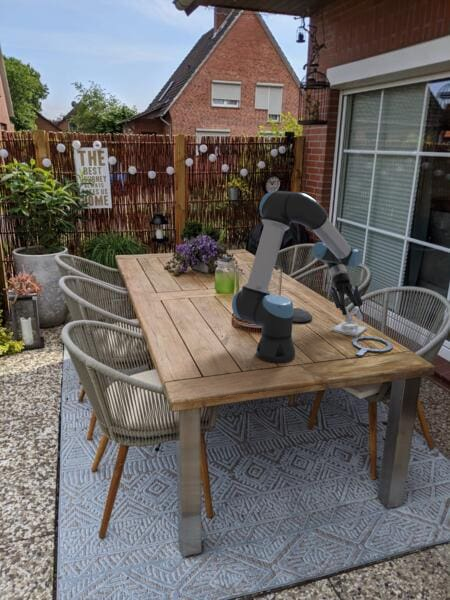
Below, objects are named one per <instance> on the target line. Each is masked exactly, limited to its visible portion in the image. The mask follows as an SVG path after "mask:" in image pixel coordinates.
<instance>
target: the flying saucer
mask: <svg viewBox="0 0 450 600" xmlns="http://www.w3.org/2000/svg"><path fill="white" fill-rule="evenodd" d="M293 312H294V314H293V322H295V323H305V322H309V321H311V320H312V319H313V315H312V313H311V312H309V311H307V310H306V309H303V308H299V307H293Z"/></svg>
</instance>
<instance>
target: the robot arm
mask: <svg viewBox="0 0 450 600" xmlns="http://www.w3.org/2000/svg"><path fill="white" fill-rule="evenodd" d="M259 214H260V216H261V222H262V225H263V229H262V232H261V234H260V238H259V243H258V246H257V249H256V251H255V252H256V253H255V256H254V260H253V264H252V267H251V271H250V273H249V277H248V279H247V280H248V281H247V282H246V283H245V284H243V285H242V288H241V290H238V291H237V292H236V293H234V295H233V298H232V303H231V308H232V311H233V314H234V315H235V317H236V318H238V319H241V320H242V321H244V322H248V323H251V324H254V325H256V326H260V327H261V337H260V339H259V341H258V344H257V347H256V353H255V355H256V357H257V358H258V359H260V360H261V361H264V362H267V363H271V364H272V363H273V364H283V363H288V362H292V361H293V360H294V359H295V357H296V349H295V346H294V343H293V339H292V336H293V335H292V334H293V314H294V312H293V308H294V304H293V302H292V300H291V299H290V298H288V297H286V296H285V295H280V294H278V295H277V294H271V292H270V289H269V286H270V283H271V280H272V276H273V272H274V269H275V266H276V262H277V260H278V259H277V258H278V256H279V252H280V248H281V245H282V243H283V238H284V234H285V232H286V231H288V230H289V229H290V227H291V224H292V223H293V224H294V223H295V224H300V225H303V226H304V227H306V229H308V230H310V231H313V232H314V234H315V235H316V236H317V237H318V238H319V239H320V241H318V242H316V243H314V244H313V246H312V248H311V255H312V256H313V257H314V258H315V259H316V260H319V261H321V262H323V263H324V264H326V265H327V269H328V271H329V274H330V277H331V281H332V284H333V286H334V287H331V288H330V289H329V292H330V293H331V295H332V298H333V299H332V300H333V302H334V305H335V308H336V309H339V311H341V313H342V316H344V317H345V322H346V321H347V323H349V322H350V321H351V318H350V315H349V314H350V312H349V309H348V307H347V306H346V303H345V302H346V301H345V295H346V296H347V297H348V298H349V300H350V301H351V303H352V305H353V307H354V308H355V307H356V306H357V307H358V308H359V310H358V311H357V312H356V314H355V315H356V319H357V321H358V322H361V321H363V319H364V318H363V316H362V308H361V307H362V306H363V305H364V302H363V300H362V297H361V295H360V291H359V287H358V285H355V286H353V285H352V283H351V281H350V280H351V279H350V277H349V274H348V271H347V269H346V266H347V267H356V268H357V267H358V266H359V265H360V263H361V262H362V260H363V254H362V251H361V250H359V249H356V248H352V247H351V245H350V244H349V243H348V241H347V240H346V239H345V238H344V236H343V235H342V234H341V233H340V231H339V230H338V229H337V228H336V226H335V225H334V224H333V222H331V220H330V218H328V217H329V215H328V213H327V210H325V208H324V207H323V206H322V205H321V204H320V203H319V202H318V201H317V200H316V199H315V198H313V197H311V196H310V195H309V194H306V193H303V192H300V191H299V192H298V191H297V192H296V191H285V190H284V191H283V190H271V191H269V192H267V193H266V194H265V195H264V196H263V197H262V199H261V200H260V202H259Z"/></svg>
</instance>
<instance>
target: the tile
mask: <svg viewBox="0 0 450 600" xmlns="http://www.w3.org/2000/svg"><path fill="white" fill-rule="evenodd" d="M343 322H344V321H341V322H340V323H338V324H337V325H336V326H334V327H332V328H331V331H332V332H334V333H339V334H343V335H348V336H352V337H354V338H356V337H360V336H361V335H362V334H363V333H364V332H366V331H367V330H368V328H367V327H366V326H361V325H358V329H356V330H344V329H342V328H341V325H342V323H343ZM345 326H355V325H354V324H345Z"/></svg>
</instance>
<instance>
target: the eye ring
mask: <svg viewBox="0 0 450 600" xmlns="http://www.w3.org/2000/svg"><path fill="white" fill-rule="evenodd" d="M363 340H368V341H369V340H370V341H371V340H372V341H376V342H380V343H382V344H385V345H386V347H385V348H378V349H377V348H369V347H364V346H362V345H360V344H359V343H358V342H359V341H363ZM351 344H352V346H353V347H355V348H356V349H358V350H359V351H357V352H356V353H355V356H356V357H360V358H362V357H363V356H365V355H366V354H367V353H375V354H377V353H378V354H382V353H388V352H390V351H392V350H393V348H394V346H393V343H392V342H390V341H388V340H386V339H384V338H381V337H377V336H368V335H362V336H361V335H360V336H358V337H354V338H353V339H352V340H351Z"/></svg>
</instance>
